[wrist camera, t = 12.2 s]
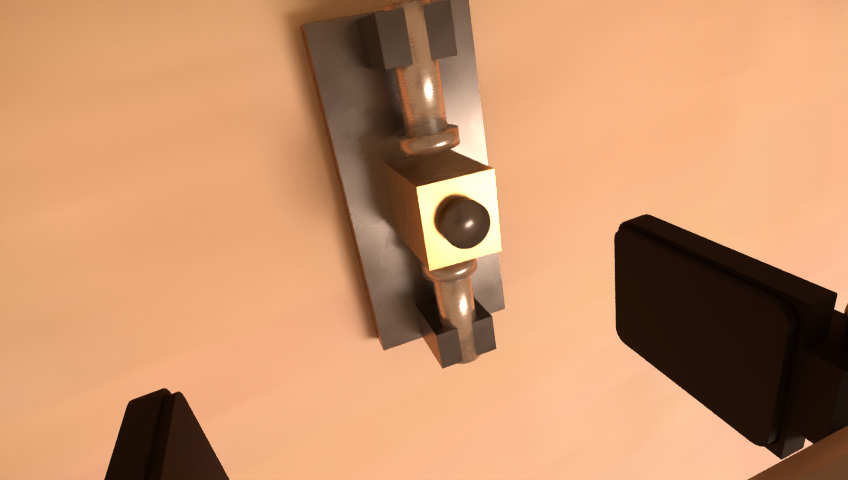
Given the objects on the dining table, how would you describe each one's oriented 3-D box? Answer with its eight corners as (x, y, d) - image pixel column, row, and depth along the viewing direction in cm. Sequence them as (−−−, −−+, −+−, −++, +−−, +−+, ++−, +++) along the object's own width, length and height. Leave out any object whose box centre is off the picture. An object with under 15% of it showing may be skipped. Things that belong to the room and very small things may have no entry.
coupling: (384, 162, 28) (421, 191, 22) (448, 148, 29) (501, 172, 23) (396, 232, 29) (434, 277, 23) (456, 217, 30) (508, 256, 24)
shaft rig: (300, 26, 25) (314, 16, 20) (457, -1, 27) (508, -16, 22) (378, 338, 33) (403, 393, 28) (495, 299, 35) (539, 342, 30)
